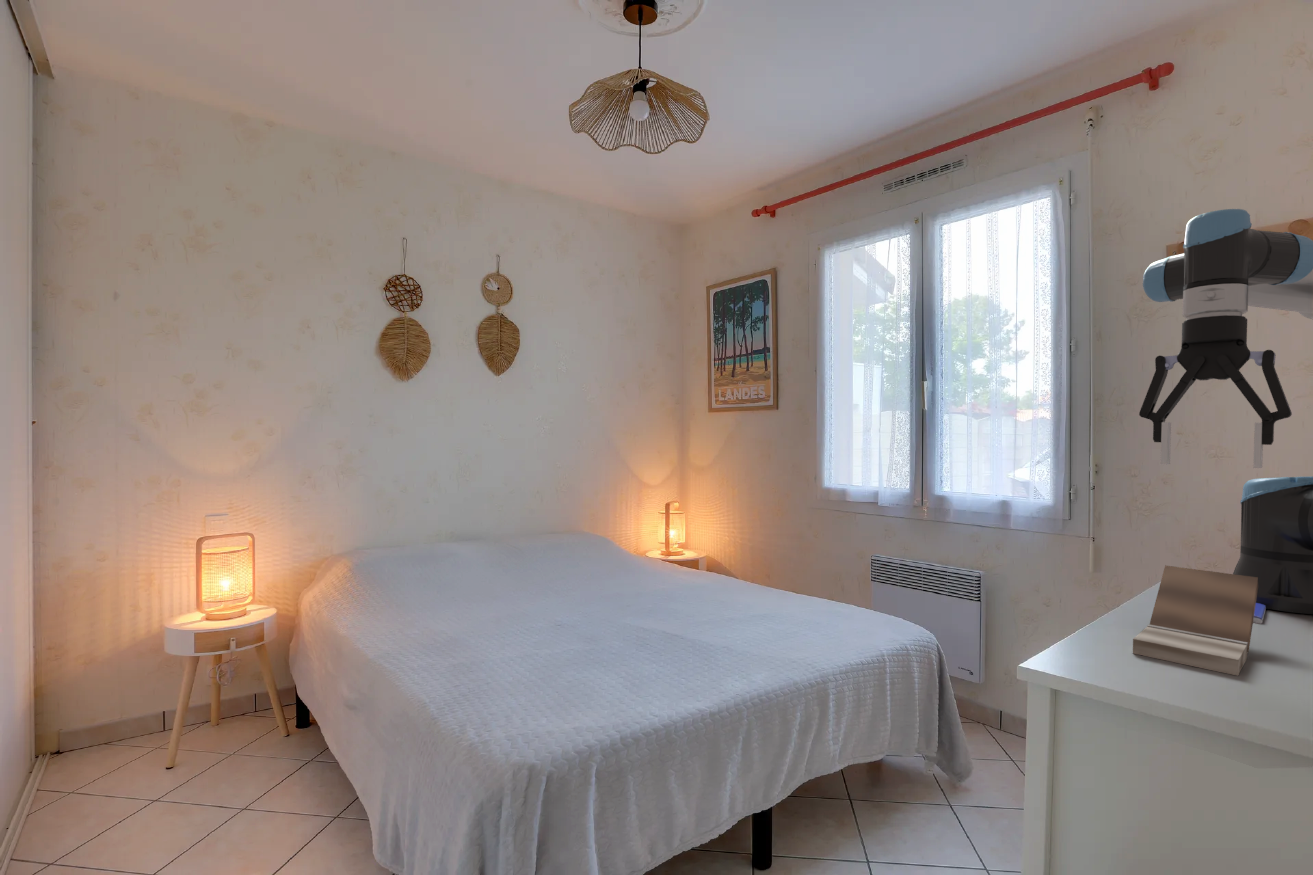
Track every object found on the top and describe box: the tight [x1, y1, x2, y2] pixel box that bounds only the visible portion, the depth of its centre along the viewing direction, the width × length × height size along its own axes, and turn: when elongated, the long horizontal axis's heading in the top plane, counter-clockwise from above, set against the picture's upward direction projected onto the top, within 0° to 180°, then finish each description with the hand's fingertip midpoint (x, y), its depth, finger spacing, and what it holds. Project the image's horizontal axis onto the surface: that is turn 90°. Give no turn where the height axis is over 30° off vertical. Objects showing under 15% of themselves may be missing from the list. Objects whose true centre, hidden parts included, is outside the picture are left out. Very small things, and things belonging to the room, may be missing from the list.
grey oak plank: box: [1132, 623, 1248, 677], centre depth 91 cm, size 10×11×2 cm
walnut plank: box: [1149, 564, 1258, 653], centre depth 99 cm, size 13×11×2 cm
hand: (1209, 465), depth 100 cm, fingers open, 10 cm apart
